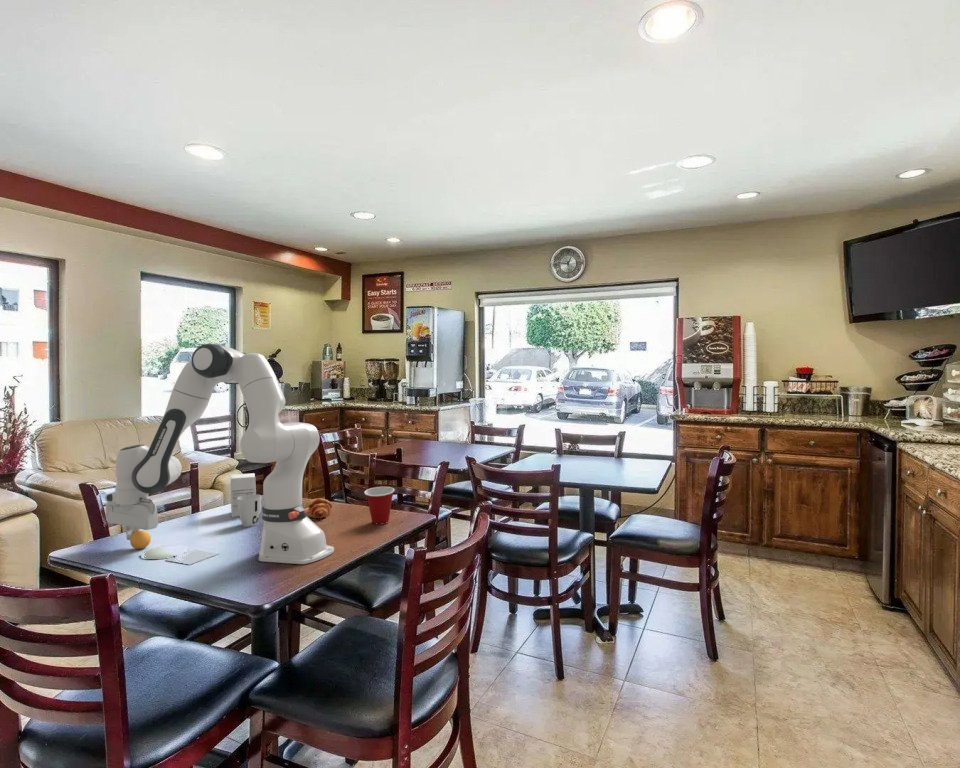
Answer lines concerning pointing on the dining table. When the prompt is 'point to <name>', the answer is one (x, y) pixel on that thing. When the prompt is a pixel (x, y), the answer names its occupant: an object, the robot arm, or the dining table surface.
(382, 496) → the plastic cup
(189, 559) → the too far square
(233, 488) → the supplement box
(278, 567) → the dining table surface
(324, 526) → the dining table surface
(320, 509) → the croissant
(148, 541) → the ball
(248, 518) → the cup
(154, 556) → the disc
